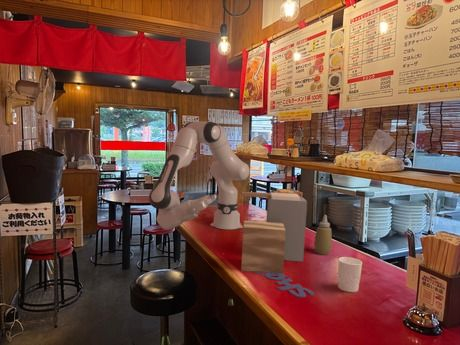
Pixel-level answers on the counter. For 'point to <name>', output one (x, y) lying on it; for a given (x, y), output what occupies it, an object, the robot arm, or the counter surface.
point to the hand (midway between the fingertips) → (216, 196)
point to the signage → (287, 284)
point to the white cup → (349, 273)
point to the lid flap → (272, 195)
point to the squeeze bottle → (323, 237)
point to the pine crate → (263, 247)
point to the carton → (290, 224)
